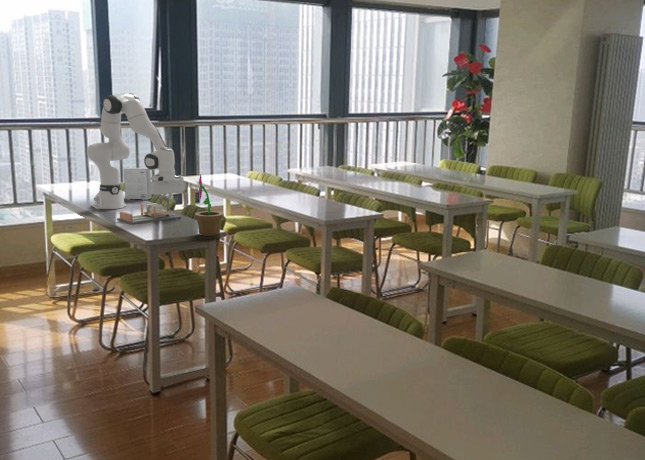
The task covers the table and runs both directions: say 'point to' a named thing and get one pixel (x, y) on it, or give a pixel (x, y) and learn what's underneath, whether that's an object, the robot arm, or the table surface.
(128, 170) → the hard drive box
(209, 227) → the flowerpot
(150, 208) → the tan box with handle
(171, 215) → the rails
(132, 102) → the robot arm
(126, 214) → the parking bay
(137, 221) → the dock mat
